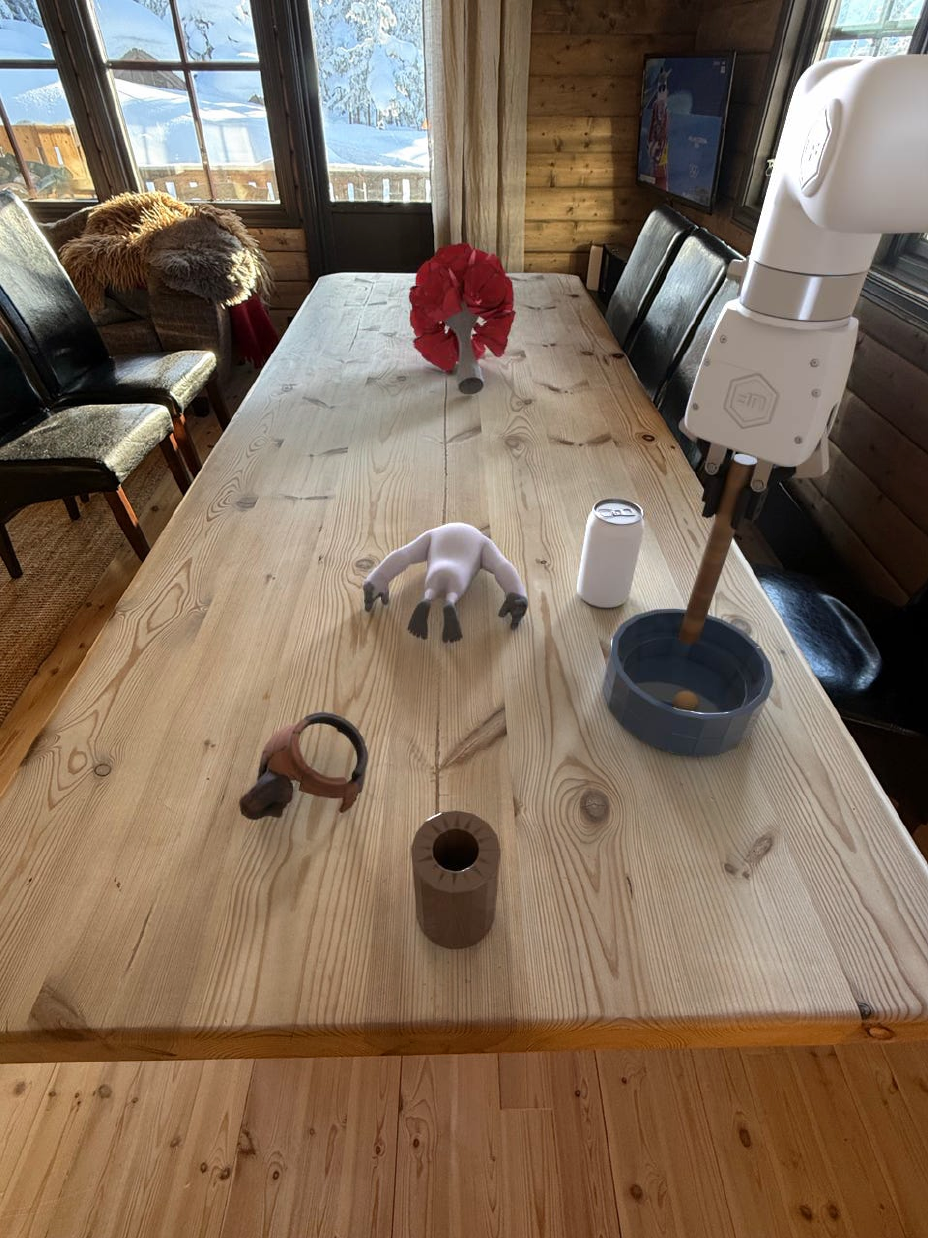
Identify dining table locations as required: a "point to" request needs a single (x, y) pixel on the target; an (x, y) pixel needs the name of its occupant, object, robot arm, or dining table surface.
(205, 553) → the dining table surface
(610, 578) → the can
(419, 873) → the holder
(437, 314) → the bouquet
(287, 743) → the broken pottery
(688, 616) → the stick
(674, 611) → the bowl
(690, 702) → the cork ball
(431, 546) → the yeti figurine
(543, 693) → the dining table surface
